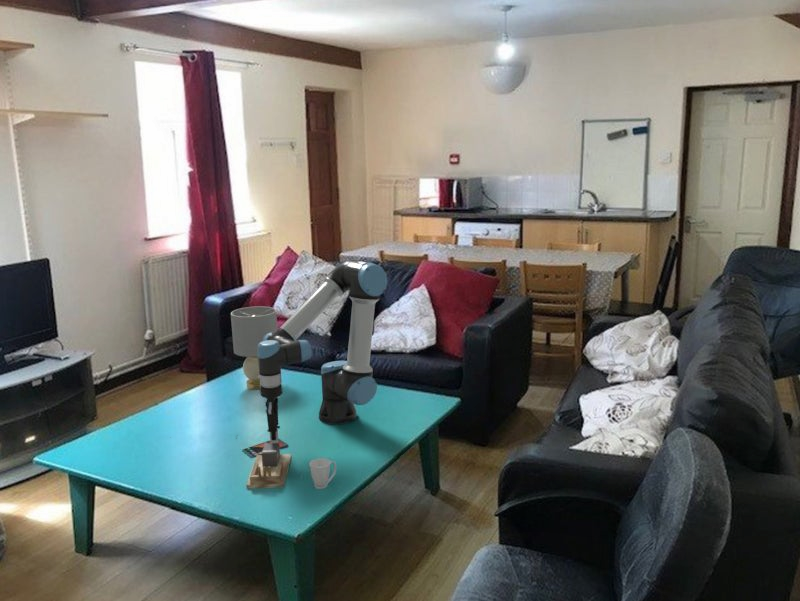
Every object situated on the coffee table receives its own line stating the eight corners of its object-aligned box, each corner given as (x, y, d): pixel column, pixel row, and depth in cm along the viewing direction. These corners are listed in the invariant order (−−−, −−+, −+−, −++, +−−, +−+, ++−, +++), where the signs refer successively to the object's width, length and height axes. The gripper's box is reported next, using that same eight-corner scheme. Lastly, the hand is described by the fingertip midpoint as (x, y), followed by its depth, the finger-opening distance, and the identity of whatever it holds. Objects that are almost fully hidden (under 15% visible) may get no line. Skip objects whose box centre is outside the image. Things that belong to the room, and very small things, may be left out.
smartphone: (241, 449, 252) (278, 437, 261) (241, 453, 252) (278, 440, 261) (251, 456, 246) (288, 443, 254) (251, 460, 246) (288, 447, 255)
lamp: (229, 392, 311) (223, 316, 303) (246, 378, 330) (240, 305, 322) (272, 394, 308) (267, 317, 300) (286, 379, 327) (282, 306, 319)
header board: (291, 457, 246) (290, 438, 244) (283, 487, 224) (282, 467, 223) (257, 458, 245) (255, 439, 244) (246, 488, 224) (244, 468, 222)
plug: (280, 456, 244) (279, 442, 243) (277, 466, 236) (276, 452, 235) (265, 456, 244) (264, 442, 243) (262, 467, 236) (261, 452, 235)
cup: (305, 485, 225) (304, 462, 223) (329, 475, 232) (328, 452, 230) (319, 493, 220) (317, 469, 218) (343, 482, 227) (342, 459, 225)
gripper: (262, 378, 249) (266, 439, 255) (257, 391, 237) (261, 455, 242) (283, 378, 250) (287, 439, 255) (279, 390, 237) (283, 454, 242)
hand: (274, 447), depth 248 cm, fingers closed
